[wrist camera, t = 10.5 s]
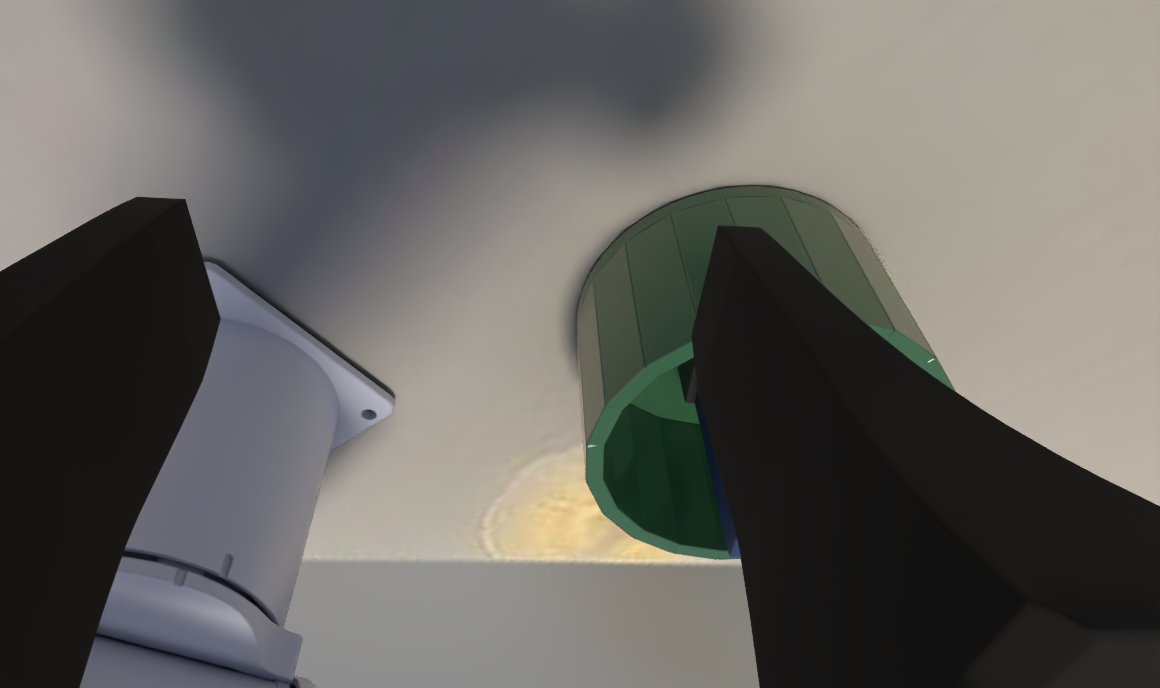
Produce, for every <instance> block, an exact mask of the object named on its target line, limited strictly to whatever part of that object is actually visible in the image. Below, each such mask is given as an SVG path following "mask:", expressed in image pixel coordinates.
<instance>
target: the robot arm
mask: <svg viewBox="0 0 1160 688" xmlns="http://www.w3.org/2000/svg"><path fill="white" fill-rule="evenodd" d="M691 337H692V346H693V355H694V364H695V372H696V379H697V386H698V393H699V398H700V402H701V406H702V409H703V413H704V417H705V421H706V425H707V428H708V432H709V436H710V440H711V443H712V447H713V451H714V454H715V458H716V462H717V465H718V469H719V473H720V476H721V480H722V483H723V487H724V491H725V494H726V498H727V502H728V505H729V509H730V513H731V516H732V520H733V524H734V528H735V533H736V537H737V542H738V546H739V551H740V556H741V563H742V569H743V575H744V581H745V587H746V594H747V600H748V607H749V613H750V619H751V627H752V634H753V642H754V649H755V655H756V663H757V670H758V678H759V686H760V688H1160V506H1158V505H1156V504H1154V503H1152V502H1150V501H1148V500H1146V499H1144V498H1142V497H1140V496H1138V495H1136V494H1134V493H1132V492H1130V491H1127V490H1125V489H1123V488H1121V487H1119V486H1117V485H1115V484H1113V483H1111V482H1109V481H1107V480H1105V479H1103V478H1101V477H1099V476H1097V475H1095V474H1093V473H1091V472H1090V471H1088V470H1086V469H1084V468H1082V467H1080V466H1078V465H1076V464H1074V463H1073V462H1071V461H1069V460H1067V459H1065V458H1063V457H1061V456H1060V455H1058V454H1056V453H1054V452H1052V451H1051V450H1049V449H1047V448H1046V447H1044V446H1042V445H1040V444H1039V443H1037V442H1035V441H1033V440H1032V439H1030V438H1028V437H1027V436H1025V435H1023V434H1021V433H1020V432H1018V431H1016V430H1015V429H1013V428H1011V427H1009V426H1008V425H1006V424H1004V423H1003V422H1001V421H1000V420H998V419H996V418H995V417H993V416H992V415H990V414H988V413H987V412H985V411H984V410H982V409H980V408H979V407H977V406H976V405H974V404H973V403H971V402H970V401H968V400H967V399H966V398H964V397H963V396H961V395H960V394H958V393H957V392H955V391H954V390H952V389H951V388H949V387H948V386H947V385H945V384H944V383H942V382H941V381H939V380H938V379H936V378H935V377H933V376H932V375H931V374H929V373H928V372H927V371H925V370H924V369H923V368H921V367H920V366H918V365H917V364H916V363H914V362H913V361H912V360H910V359H909V358H908V357H907V356H905V355H904V354H903V353H902V352H900V351H899V350H898V349H897V348H896V347H894V346H893V345H892V344H891V343H889V342H888V341H887V340H886V339H884V338H883V337H882V336H881V335H879V334H878V333H877V332H876V331H874V330H873V329H872V328H871V327H870V326H869V325H867V324H866V323H865V322H864V321H863V320H862V319H860V318H859V317H858V316H857V315H856V314H855V313H853V312H852V311H851V310H850V309H849V308H848V307H847V306H846V305H844V304H843V303H842V302H841V301H840V300H839V299H838V298H837V297H836V296H835V295H833V294H832V293H831V292H830V291H829V290H828V289H827V288H826V287H825V286H824V285H823V284H822V283H820V282H819V281H818V280H817V279H816V278H815V277H814V276H813V275H812V274H811V273H810V272H809V271H808V270H807V269H806V268H805V267H803V266H802V265H801V264H800V263H799V262H798V261H797V260H796V259H795V258H794V257H793V256H792V255H791V254H790V253H789V252H788V251H787V250H785V249H784V248H783V247H782V246H781V245H780V244H779V243H778V242H777V241H776V240H775V239H773V238H772V237H771V236H770V235H769V234H768V233H767V232H765V231H764V230H763V229H762V228H760V227H743V226H722V225H718V227H717V231H716V236H715V240H714V244H713V248H712V252H711V256H710V260H709V264H708V269H707V273H706V277H705V281H704V285H703V289H702V293H701V297H700V302H699V306H698V310H697V314H696V318H695V322H694V326H693V330H692V335H691ZM394 405H395V401H394V398H393V397H392V396H391V395H390V394H388V393H387V392H386V391H384V390H383V389H382V388H380V387H379V386H378V385H376V384H375V383H374V382H372V381H371V380H370V379H368V378H367V377H366V376H364V375H363V374H362V373H360V372H359V371H358V370H356V369H355V368H354V367H353V366H351V365H350V364H349V363H347V362H346V361H345V360H343V359H342V358H341V357H339V356H338V355H337V354H335V353H334V352H333V351H331V350H330V349H329V348H327V347H326V346H325V345H323V344H322V343H321V342H319V341H318V340H317V339H315V338H314V337H313V336H311V335H310V334H309V333H307V332H306V331H305V330H303V329H302V328H301V327H299V326H298V325H297V324H295V323H294V322H293V321H291V320H290V319H289V318H287V317H286V316H285V315H283V314H282V313H281V312H279V311H278V310H277V309H275V308H274V307H273V306H271V305H270V304H269V303H267V302H266V301H265V300H263V299H262V298H261V297H259V296H258V295H257V294H255V293H254V292H253V291H252V290H250V289H249V288H248V287H246V286H245V285H244V284H242V283H241V282H240V281H238V280H237V279H236V278H234V277H233V276H232V275H230V274H229V273H228V272H226V271H225V270H224V269H222V268H221V267H219V266H218V265H216V264H214V263H210V262H204V261H203V257H202V254H201V251H200V247H199V244H198V241H197V237H196V234H195V230H194V227H193V224H192V220H191V217H190V214H189V210H188V207H187V204H186V200H185V199H169V198H149V197H136V198H134V199H131V200H129V201H127V202H125V203H122V204H120V205H118V206H116V207H114V208H112V209H110V210H109V211H107V212H105V213H103V214H101V215H99V216H97V217H96V218H94V219H92V220H90V221H88V222H87V223H85V224H83V225H81V226H79V227H78V228H76V229H74V230H72V231H71V232H69V233H67V234H65V235H64V236H62V237H60V238H58V239H57V240H55V241H53V242H51V243H50V244H48V245H46V246H44V247H43V248H41V249H39V250H37V251H35V252H34V253H32V254H30V255H28V256H27V257H25V258H23V259H21V260H20V261H18V262H16V263H14V264H13V265H11V266H9V267H7V268H6V269H4V270H2V271H0V688H317V687H316V685H315V684H313V683H312V682H311V681H310V680H308V679H306V678H302V677H298V676H294V673H295V668H296V665H297V661H298V656H299V652H300V648H301V643H302V639H303V638H302V636H301V635H299V634H296V633H293V632H290V631H288V630H286V629H284V625H285V621H286V617H287V613H288V610H289V605H290V602H291V598H292V594H293V590H294V586H295V582H296V579H297V575H298V571H299V567H300V564H301V560H302V556H303V552H304V548H305V544H306V541H307V537H308V533H309V529H310V525H311V521H312V518H313V514H314V510H315V506H316V502H317V499H318V495H319V491H320V487H321V483H322V479H323V476H324V472H325V468H326V464H327V460H328V456H329V453H330V451H331V450H333V449H334V448H336V447H338V446H339V445H341V444H343V443H344V442H346V441H348V440H349V439H351V438H353V437H354V436H356V435H358V434H359V433H361V432H363V431H364V430H366V429H367V428H369V427H371V426H372V425H374V424H376V423H377V422H379V421H381V420H382V419H384V418H386V417H387V416H389V415H390V414H391V413H392V412H393V409H394ZM367 410H372V411H374V412H370V411H367Z"/></svg>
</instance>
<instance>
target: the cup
mask: <svg viewBox="0 0 1160 688" xmlns="http://www.w3.org/2000/svg"><path fill="white" fill-rule="evenodd" d="M718 225H722V226H743V227H760V228H762V229H763V230H764V231H765V232H767V233H768V234H769V235H770V236H771V237H772V238H773V239H775V240H776V241H777V242H778V243H779V244H780V245H781V246H782V247H783V248H784V249H785V250H787V251H788V252H789V253H790V254H791V255H792V256H793V257H794V258H795V259H796V260H797V261H798V262H799V263H800V264H801V265H802V266H803V267H805V268H806V269H807V270H808V271H809V272H810V273H811V274H812V275H813V276H814V277H815V278H816V279H817V280H818V281H819V282H820V283H822V284H823V285H824V286H825V287H826V288H827V289H828V290H829V291H830V292H831V293H832V294H833V295H835V296H836V297H837V298H838V299H839V300H840V301H841V302H842V303H843V304H844V305H846V306H847V307H848V308H849V309H850V310H851V311H852V312H853V313H855V314H856V315H857V316H858V317H859V318H860V319H862V320H863V321H864V322H865V323H866V324H867V325H869V326H870V327H871V328H872V329H873V330H874V331H876V332H877V333H878V334H879V335H881V336H882V337H883V338H884V339H886V340H887V341H888V342H889V343H891V344H892V345H893V346H894V347H896V348H897V349H898V350H899V351H900V352H902V353H903V354H904V355H905V356H907V357H908V358H909V359H910V360H912V361H913V362H914V363H916V364H917V365H918V366H920V367H921V368H923V369H924V370H925V371H927V372H928V373H929V374H931V375H932V376H933V377H935V378H936V379H938V380H939V381H941V382H942V383H944V384H945V385H947V386H948V387H949V388H951V389H952V390H954V391H955V389H954V387H953V385H952V384H951V382H950V380H949V378H948V376H947V375H946V373H945V371H944V369H943V368H942V366H941V364H940V362H939V360H938V359H937V357H936V355H935V354H934V352H933V350H932V349H931V347H930V345H929V343H928V342H927V340H926V338H925V337H924V335H923V333H922V332H921V330H920V328H919V327H918V325H917V323H916V322H915V320H914V318H913V316H912V315H911V313H910V311H909V310H908V308H907V306H906V305H905V303H904V301H903V300H902V298H901V296H900V295H899V293H898V291H897V289H896V288H895V286H894V284H893V283H892V281H891V279H890V278H889V276H888V274H887V273H886V271H885V269H884V268H883V266H882V264H881V262H880V261H879V259H878V257H877V256H876V254H875V252H874V251H873V249H872V247H871V246H870V244H869V242H868V241H867V239H866V237H865V236H864V235H863V234H862V233H861V231H860V230H859V229H858V228H857V227H856V226H855V225H854V224H853V223H852V222H851V221H850V220H849V219H848V218H847V217H846V216H845V215H844V214H842V213H841V212H839V211H838V210H837V209H835V208H834V207H832V206H831V205H828V204H826V203H824V202H822V201H820V200H818V199H816V198H814V197H811V196H808V195H805V194H802V193H799V192H796V191H791V190H786V189H780V188H775V187H760V186H745V187H729V188H724V189H718V190H712V191H707V192H703V193H700V194H697V195H693V196H690V197H686V198H684V199H681V200H679V201H676V202H674V203H672V204H669V205H667V206H664V207H663V208H661V209H659V210H657V211H655V212H654V213H652V214H650V215H648V216H646V217H645V218H643V219H642V220H640V221H639V222H638V223H636V224H635V225H633V226H632V227H631V228H629V229H628V230H627V231H626V232H624V233H623V234H622V235H621V236H620V237H619V238H618V239H617V240H616V241H615V242H613V243H612V245H611V246H610V247H609V248H608V249H607V250H606V252H605V253H604V254H603V255H602V256H601V257H600V259H599V260H598V262H597V263H596V265H595V267H594V268H593V270H592V271H591V273H590V274H589V277H588V279H587V281H586V283H585V285H584V288H583V290H582V293H581V297H580V300H579V304H578V310H577V319H576V325H577V358H578V373H579V389H580V404H581V419H582V434H583V449H584V465H585V480H586V483H587V485H588V487H589V489H590V491H591V493H592V495H593V496H594V498H595V500H596V502H597V504H598V506H599V508H600V510H601V512H602V513H603V514H604V515H605V516H606V517H607V518H609V519H610V520H611V521H612V522H614V523H615V524H616V525H617V526H619V527H620V528H621V529H622V530H623V531H625V532H626V533H627V534H628V535H630V536H631V537H633V538H635V539H637V540H640V541H642V542H645V543H647V544H650V545H652V546H655V547H657V548H660V549H663V550H665V551H668V552H672V553H675V554H682V555H688V556H695V557H702V558H709V559H719V560H722V559H741V557H730V556H729V553H728V549H727V544H726V540H725V535H724V531H723V526H722V522H721V517H720V513H719V509H718V504H717V500H716V495H715V491H714V486H713V482H712V477H711V473H710V469H709V464H708V460H707V455H706V451H705V446H704V442H703V437H702V433H701V428H700V424H699V420H698V415H697V411H696V406H695V403H686V402H685V400H684V396H683V391H682V386H681V382H680V377H679V372H678V369H679V365H681V364H683V363H684V362H686V361H688V360H690V359H692V358H694V355H693V346H692V337H691V335H692V330H693V326H694V322H695V318H696V314H697V310H698V306H699V302H700V297H701V293H702V289H703V285H704V281H705V277H706V273H707V269H708V264H709V260H710V256H711V252H712V248H713V244H714V240H715V236H716V231H717V227H718Z"/></svg>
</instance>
